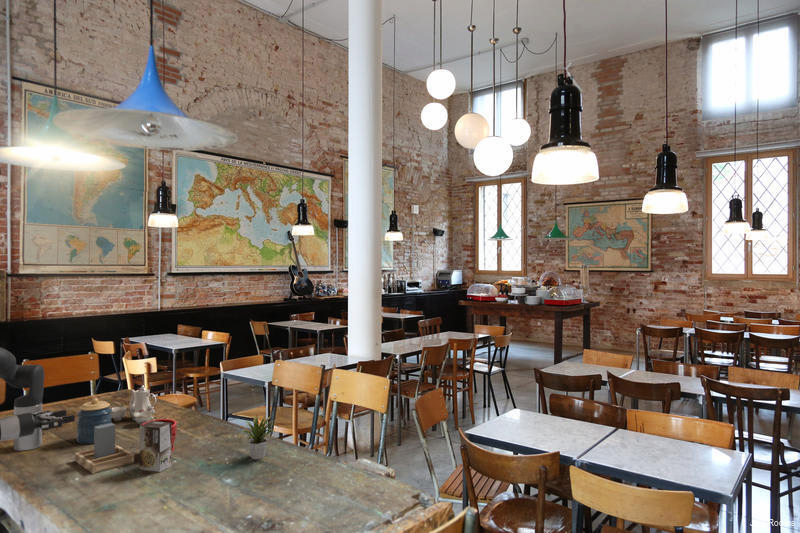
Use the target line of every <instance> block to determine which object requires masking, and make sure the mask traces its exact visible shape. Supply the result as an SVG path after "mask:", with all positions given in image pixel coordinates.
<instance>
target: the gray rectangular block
mask: <svg viewBox="0 0 800 533" xmlns="http://www.w3.org/2000/svg"><path fill="white" fill-rule="evenodd" d="M115 444H116V424H115V423H113V422H111V423H109V424H105V425H100V426H95V427H94V443H93V449H94V459H98V458H101V457H105V456H109V455H113V454H115Z"/></svg>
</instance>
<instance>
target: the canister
mask: <svg viewBox="0 0 800 533" xmlns="http://www.w3.org/2000/svg"><path fill="white" fill-rule="evenodd" d="M90 400H91V401H88V402H85V403H83V404H82V405H80V406H79V407H78V409H79V411H77V412H76V416H77V420H76V435H75V437H76V443H78V444H81V445H92V444H93V445H94V427H95V426H100V425H105V424H109V423H112V419H113V418H112V416H111V411H112V408H111V407H110V404H111V403H109V402H107V401H105V400H99V399H98V398H97V397H93V398H92V399H90Z"/></svg>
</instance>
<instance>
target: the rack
mask: <svg viewBox="0 0 800 533" xmlns="http://www.w3.org/2000/svg"><path fill="white" fill-rule="evenodd" d="M74 462H75V463H77V464H78V465H80V466H81V467H82V468H84V469H85V470H87V471H88V472H90V473H91V474H92V475H95V474H97V473H101V472H105V471H109V470H112V469H116V468H119V467H123V466H127V465H130V464H133V463H135V454H134V453H133V452H132V451H131V452H130V451H129V450H127V449H125V448H123V447H121V446H120V445H118V444H116V443H115V454H113V455H109V456H105V457H101V458H98V459H94V448H90V449H87V450H82V451H79V452H76V453H74Z"/></svg>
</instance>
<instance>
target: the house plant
mask: <svg viewBox="0 0 800 533" xmlns="http://www.w3.org/2000/svg"><path fill="white" fill-rule="evenodd" d="M270 419H271V416H269V417H267V414H265V415H264V417H263V418H262V419H261V421H260V422H259V419H258V414H256V415H254V416H253V420H251V422H252V424H253V425H252V424H251V423H250V421H248V420H245V422H246V423H247V424H245V427H247V428H248V429H249V430H250V431H251V432H250V431H249V430H245V429H243V430H242V431H241V432H243V433H247V434H249V435H248V439H247V441H248V446H249V448H248V449H249V452H250V458H251V459H252V460H261V459H264V458H265V456H266V450H267V446H268V445H267V444H268V439H267V438H265V437H266V436H267V437H268V438H270V434H272V433H275V432H274V428H269V427H272V426H274V425H277V423H274V422H275V421H277V419H275V420H272V421H269V420H270ZM268 421H269V422H268Z"/></svg>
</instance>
